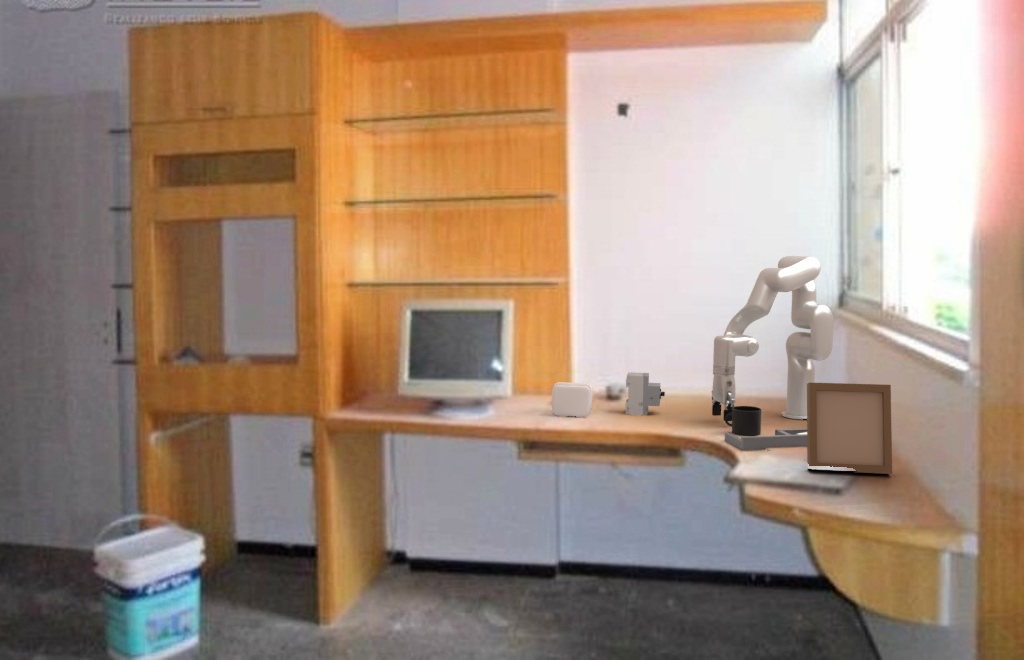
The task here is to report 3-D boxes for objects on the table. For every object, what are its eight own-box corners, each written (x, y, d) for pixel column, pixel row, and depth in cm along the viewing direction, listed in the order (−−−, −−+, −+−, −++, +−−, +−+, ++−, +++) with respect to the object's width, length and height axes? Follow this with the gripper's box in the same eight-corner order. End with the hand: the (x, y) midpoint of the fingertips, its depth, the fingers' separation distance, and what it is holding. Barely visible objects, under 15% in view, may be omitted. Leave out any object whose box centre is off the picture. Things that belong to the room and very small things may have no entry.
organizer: (812, 436, 284) (813, 425, 283) (834, 446, 271) (835, 434, 270) (724, 440, 278) (725, 428, 278) (742, 450, 265) (743, 437, 265)
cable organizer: (549, 416, 317) (549, 385, 315) (553, 411, 327) (553, 381, 326) (589, 418, 314) (589, 387, 312) (592, 412, 324) (593, 382, 323)
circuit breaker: (663, 416, 317) (664, 376, 315) (625, 414, 320) (626, 375, 318) (664, 412, 324) (665, 373, 323) (626, 410, 327) (627, 372, 326)
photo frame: (892, 477, 235) (895, 387, 233) (809, 473, 239) (812, 385, 237) (879, 464, 249) (882, 380, 247) (801, 461, 253) (804, 377, 251)
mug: (727, 429, 294) (728, 404, 293) (762, 433, 289) (763, 407, 288) (721, 435, 286) (722, 409, 285) (757, 439, 281) (758, 412, 280)
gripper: (744, 374, 293) (742, 423, 295) (723, 367, 310) (721, 413, 312) (724, 374, 292) (722, 423, 294) (704, 367, 309) (702, 413, 311)
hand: (722, 418), depth 303 cm, fingers open, 9 cm apart
